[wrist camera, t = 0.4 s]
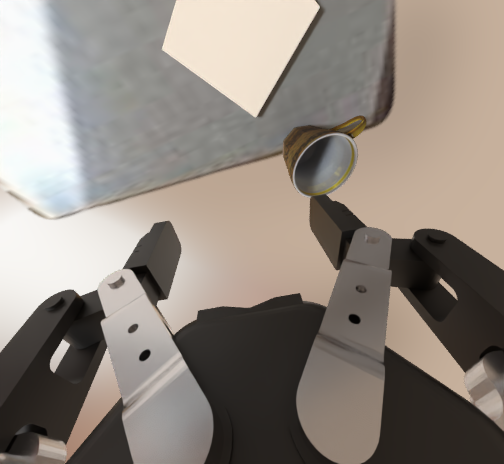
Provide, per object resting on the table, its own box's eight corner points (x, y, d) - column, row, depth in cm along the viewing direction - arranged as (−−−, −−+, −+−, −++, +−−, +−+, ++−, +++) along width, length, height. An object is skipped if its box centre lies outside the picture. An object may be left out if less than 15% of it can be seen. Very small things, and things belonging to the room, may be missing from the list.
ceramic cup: (296, 179, 41) (318, 208, 34) (261, 151, 36) (278, 177, 29) (349, 125, 36) (387, 144, 29) (317, 81, 30) (356, 91, 23)
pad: (162, 49, 25) (161, 49, 24) (215, -127, 18) (216, -134, 17) (254, 116, 32) (255, 117, 31) (316, 8, 25) (320, 7, 24)
